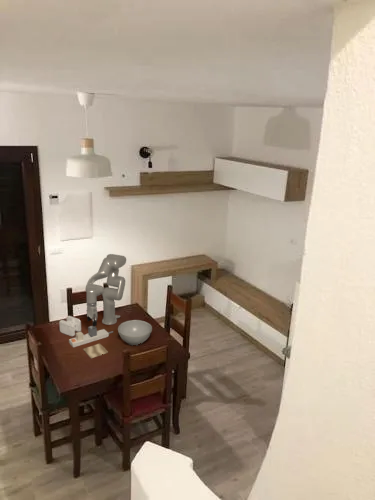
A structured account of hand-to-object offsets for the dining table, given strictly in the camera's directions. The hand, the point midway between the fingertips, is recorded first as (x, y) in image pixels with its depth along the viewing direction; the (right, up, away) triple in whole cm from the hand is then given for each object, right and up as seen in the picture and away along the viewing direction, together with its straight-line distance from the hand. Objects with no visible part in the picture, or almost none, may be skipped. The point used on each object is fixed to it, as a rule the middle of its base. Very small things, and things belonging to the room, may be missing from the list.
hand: (91, 323), depth 322 cm
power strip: (-1, -13, +5) cm, 14 cm away
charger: (0, -10, +4) cm, 11 cm away
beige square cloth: (+6, -19, -12) cm, 23 cm away
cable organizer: (-20, -10, +12) cm, 25 cm away
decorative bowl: (+33, -15, +4) cm, 37 cm away
